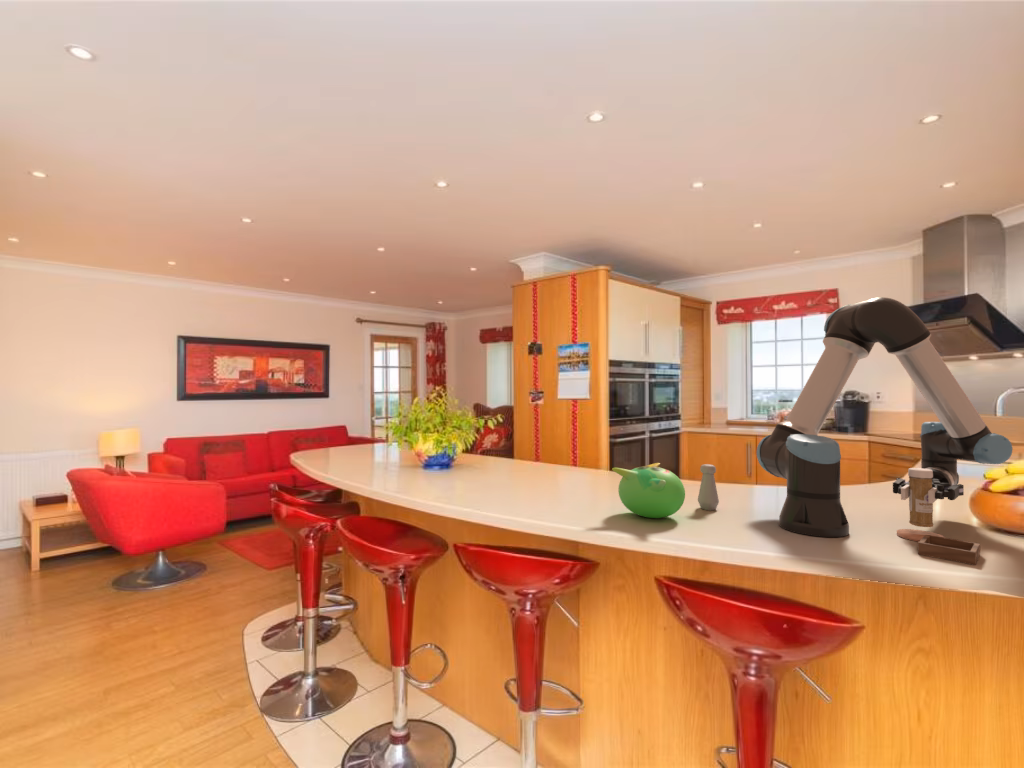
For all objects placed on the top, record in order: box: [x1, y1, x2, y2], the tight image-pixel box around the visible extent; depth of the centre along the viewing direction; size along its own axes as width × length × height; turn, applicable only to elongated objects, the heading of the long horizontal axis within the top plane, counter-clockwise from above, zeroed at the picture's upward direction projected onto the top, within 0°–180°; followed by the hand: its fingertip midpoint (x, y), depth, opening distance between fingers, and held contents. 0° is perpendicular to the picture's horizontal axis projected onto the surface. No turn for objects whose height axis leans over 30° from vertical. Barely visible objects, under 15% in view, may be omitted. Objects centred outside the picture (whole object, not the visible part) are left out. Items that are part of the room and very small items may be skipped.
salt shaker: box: [697, 463, 720, 511], centre depth 149 cm, size 6×6×13 cm
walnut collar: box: [917, 535, 981, 566], centre depth 107 cm, size 9×9×2 cm
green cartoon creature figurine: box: [611, 462, 686, 519], centre depth 138 cm, size 18×17×15 cm
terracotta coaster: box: [896, 528, 946, 543], centre depth 120 cm, size 9×9×1 cm
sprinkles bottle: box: [907, 467, 934, 528], centre depth 120 cm, size 5×5×14 cm
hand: (916, 495), depth 116 cm, fingers closed on sprinkles bottle, 4 cm apart
